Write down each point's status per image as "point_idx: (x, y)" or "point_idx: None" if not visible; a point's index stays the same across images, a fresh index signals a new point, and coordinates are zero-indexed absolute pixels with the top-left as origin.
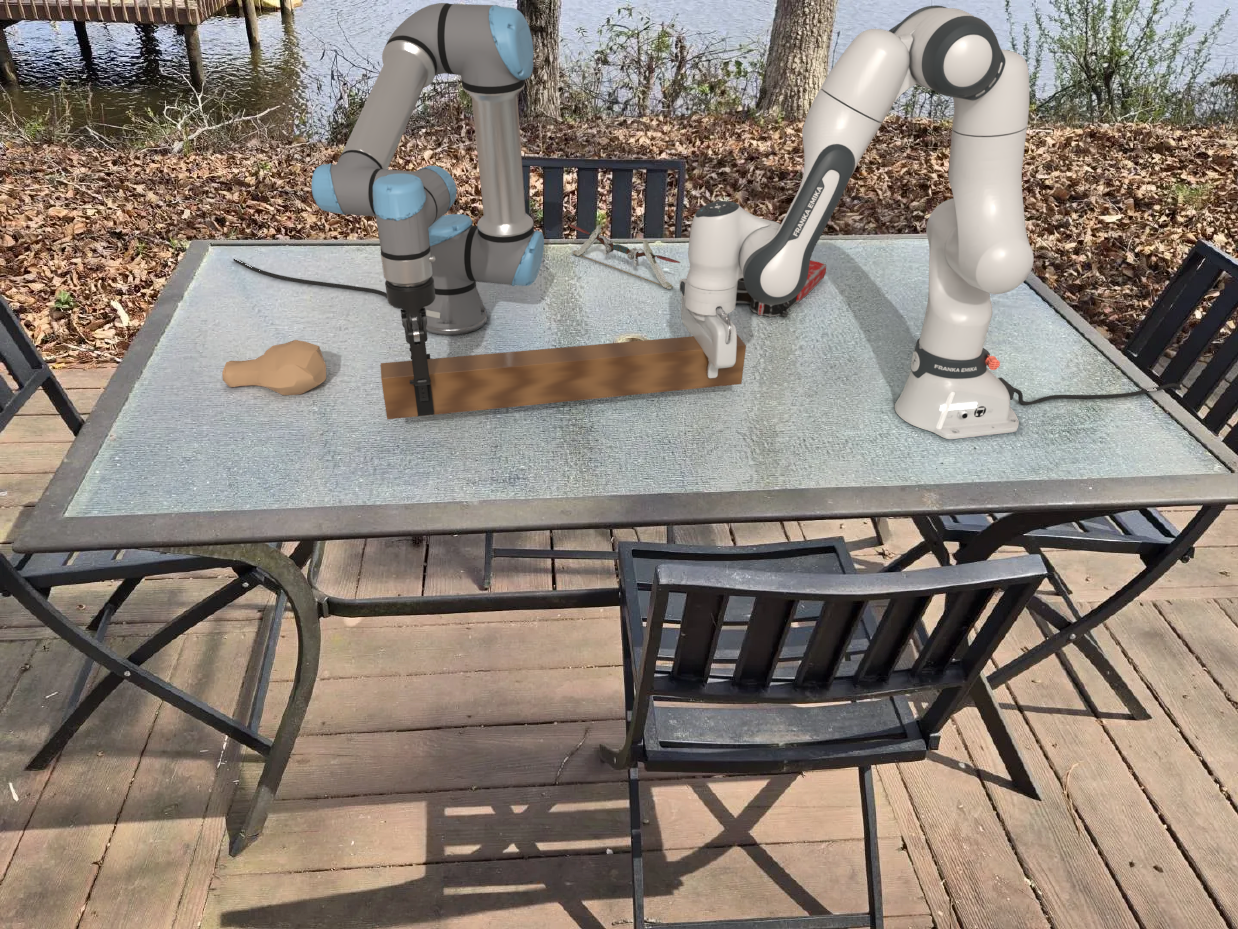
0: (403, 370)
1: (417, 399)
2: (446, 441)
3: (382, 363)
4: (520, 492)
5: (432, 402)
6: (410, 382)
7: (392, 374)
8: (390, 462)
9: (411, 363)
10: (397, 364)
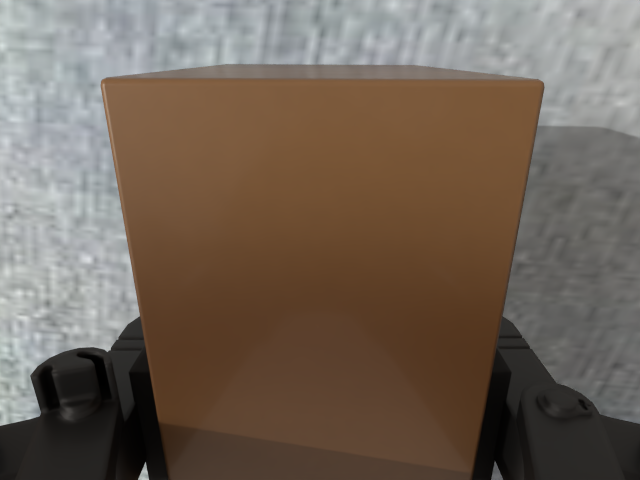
0: (277, 334)
1: None
2: None
3: (523, 108)
4: (4, 424)
5: None
6: (40, 373)
7: (189, 222)
8: (196, 51)
9: (417, 407)
10: (433, 283)
